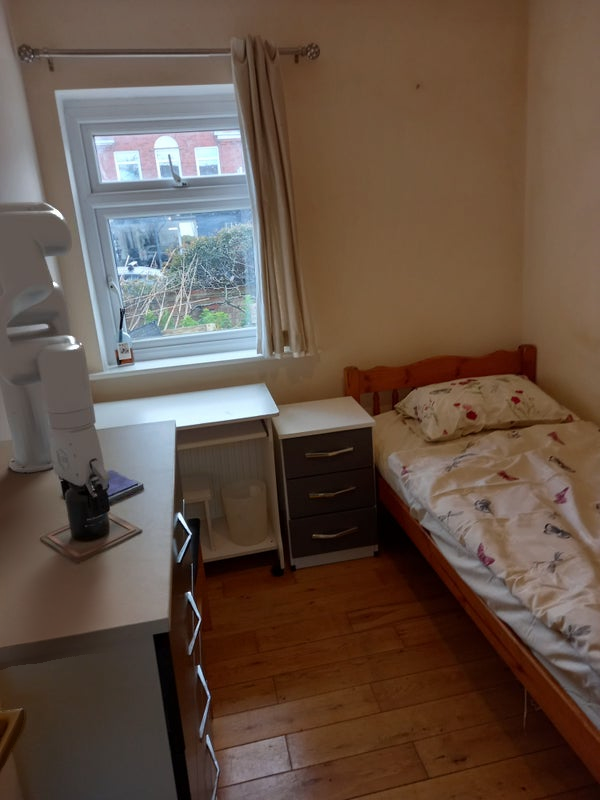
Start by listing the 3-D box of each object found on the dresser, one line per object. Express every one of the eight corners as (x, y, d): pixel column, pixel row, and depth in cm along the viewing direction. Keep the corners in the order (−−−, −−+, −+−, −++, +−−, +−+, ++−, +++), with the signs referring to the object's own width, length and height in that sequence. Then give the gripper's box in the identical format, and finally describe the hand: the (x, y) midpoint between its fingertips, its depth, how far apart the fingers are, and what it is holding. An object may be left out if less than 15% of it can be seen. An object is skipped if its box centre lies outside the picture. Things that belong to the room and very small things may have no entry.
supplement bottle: (98, 544, 100) (88, 483, 96) (63, 541, 101) (52, 480, 98) (117, 524, 106) (109, 466, 103) (84, 521, 108) (75, 464, 104)
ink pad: (62, 494, 120) (61, 488, 119) (112, 474, 128) (111, 468, 128) (93, 511, 112) (91, 504, 112) (143, 488, 121) (143, 482, 120)
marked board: (40, 539, 103) (39, 536, 103) (103, 510, 112) (103, 507, 112) (77, 564, 95) (76, 561, 95) (142, 531, 104) (142, 528, 104)
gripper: (26, 412, 99) (43, 500, 105) (77, 434, 88) (93, 530, 94) (66, 401, 105) (80, 485, 110) (119, 420, 94) (132, 511, 99)
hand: (86, 505), depth 102 cm, fingers open, 9 cm apart
